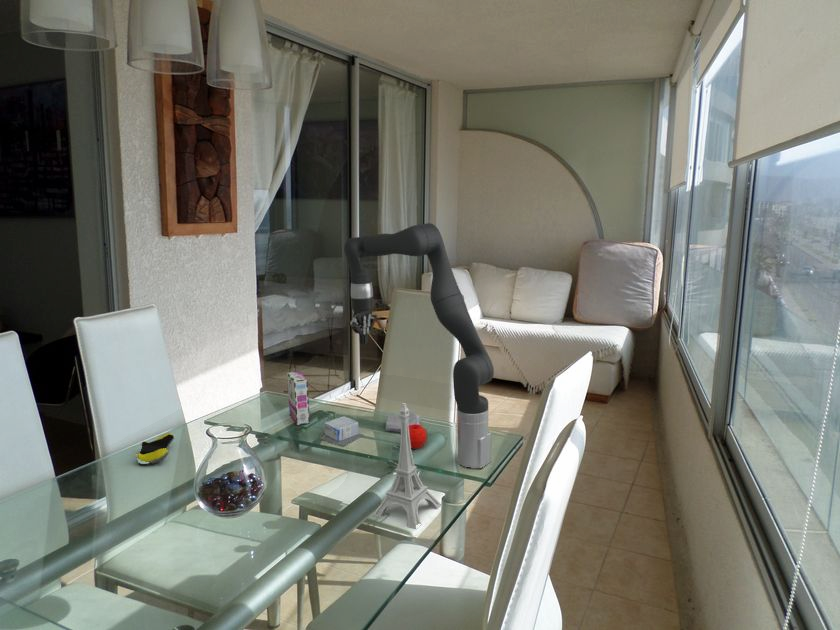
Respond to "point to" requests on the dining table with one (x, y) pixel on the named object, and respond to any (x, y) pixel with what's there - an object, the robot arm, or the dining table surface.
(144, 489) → the dining table surface
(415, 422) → the stone block
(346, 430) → the medicine box
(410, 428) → the apple
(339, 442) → the mat
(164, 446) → the yellow black curved piece
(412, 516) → the eiffel tower
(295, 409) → the candy bar box
